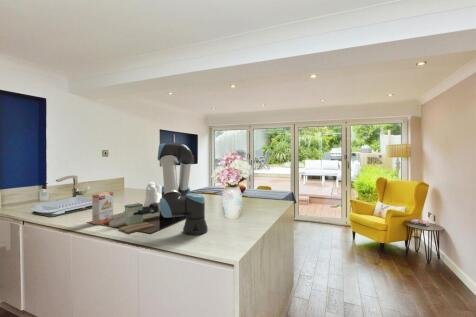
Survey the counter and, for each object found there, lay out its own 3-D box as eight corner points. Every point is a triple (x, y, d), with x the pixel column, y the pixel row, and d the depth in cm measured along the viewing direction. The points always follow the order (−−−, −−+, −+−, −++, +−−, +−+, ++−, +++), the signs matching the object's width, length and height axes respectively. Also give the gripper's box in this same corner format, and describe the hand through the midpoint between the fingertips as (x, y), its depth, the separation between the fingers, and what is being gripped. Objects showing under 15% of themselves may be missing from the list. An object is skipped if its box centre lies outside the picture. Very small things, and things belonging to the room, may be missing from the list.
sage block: (142, 222, 172) (142, 204, 172) (129, 225, 164) (129, 206, 164) (138, 220, 176) (138, 202, 175) (124, 223, 168) (124, 205, 168)
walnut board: (155, 226, 161) (155, 224, 161) (129, 233, 147) (128, 232, 147) (144, 223, 169) (144, 221, 169) (118, 229, 155) (118, 228, 155)
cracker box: (99, 225, 165) (99, 194, 165) (92, 224, 166) (91, 194, 166) (113, 219, 179) (113, 191, 178) (106, 219, 180) (106, 191, 180)
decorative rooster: (154, 213, 197) (153, 183, 196) (139, 211, 203) (138, 182, 202) (172, 206, 220) (172, 179, 220) (158, 205, 226) (158, 179, 225)
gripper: (163, 214, 178) (133, 221, 160) (148, 210, 189) (119, 217, 171) (163, 204, 178) (133, 210, 159) (148, 201, 189) (119, 206, 171)
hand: (126, 214), depth 165 cm, fingers closed on sage block, 6 cm apart
